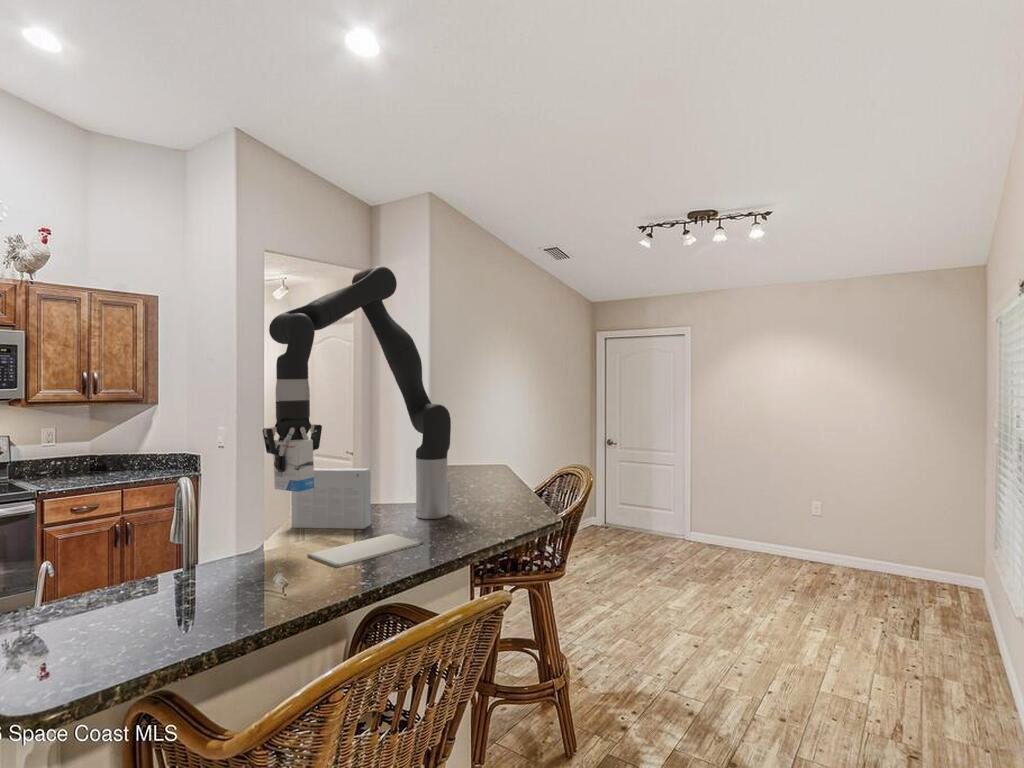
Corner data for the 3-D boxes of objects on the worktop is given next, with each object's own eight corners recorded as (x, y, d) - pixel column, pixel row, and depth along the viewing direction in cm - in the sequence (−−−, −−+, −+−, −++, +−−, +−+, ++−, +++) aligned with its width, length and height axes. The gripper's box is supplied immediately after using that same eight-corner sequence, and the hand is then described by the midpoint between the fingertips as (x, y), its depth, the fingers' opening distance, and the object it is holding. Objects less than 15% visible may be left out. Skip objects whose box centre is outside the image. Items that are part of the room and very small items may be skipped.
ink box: (315, 488, 136) (314, 439, 136) (298, 492, 132) (297, 441, 132) (289, 485, 140) (289, 437, 140) (272, 489, 136) (271, 439, 136)
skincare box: (371, 524, 161) (371, 467, 161) (365, 529, 156) (364, 470, 156) (299, 523, 163) (299, 467, 163) (290, 528, 158) (290, 470, 158)
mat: (392, 535, 149) (392, 533, 149) (423, 543, 142) (422, 541, 142) (307, 556, 131) (307, 553, 131) (336, 567, 124) (336, 564, 124)
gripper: (312, 397, 144) (313, 465, 144) (255, 399, 133) (256, 472, 133) (328, 397, 139) (329, 467, 139) (270, 400, 128) (271, 475, 128)
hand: (293, 469), depth 136 cm, fingers closed on ink box, 5 cm apart
